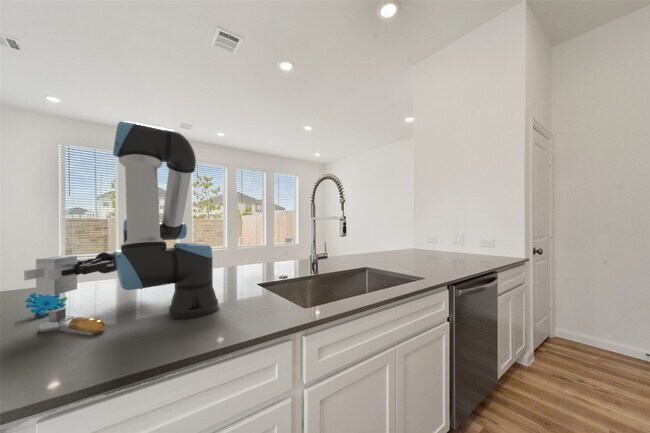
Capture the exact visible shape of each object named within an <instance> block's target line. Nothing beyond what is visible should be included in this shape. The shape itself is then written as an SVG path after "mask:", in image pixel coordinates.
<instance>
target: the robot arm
mask: <svg viewBox="0 0 650 433" xmlns="http://www.w3.org/2000/svg"><path fill="white" fill-rule="evenodd" d="M114 139H115V140H114V144H113V150H112V155H113V156H114V157H116V158H118V163H119V164H121V165H122V166H123V167H124V172H125V173H124V174H125V206H126V207H125V209H126V219H125V220H124V221H123V231H122V232H123V243H122V244H120V249H116V250H112V251H111V250H110V251H104V252H100V253H98V254H97V255H96V256H95V258H87V259H85V260H81V259H80V260H78V259H77V264H75V268H73V266H70V267H64V268H59V269H53V270H47V271H45V280H46V281H48V280H53V279H58V278H63V277H67V276H72V275H73V274H75V275H77V276H78V275H79V276H80V275H84V276H85V275H88V274H93V273H97V272H99V273H100V274H109V273H114V272H116V273H117V278H118V281H119V284H120V287H121V288H122V289H123V290H125V291H133V290H143V289H148V288H153V287H160V286H166V285H172V284H174V292H173V296H172V298H171V301H170V302H171V303H170V305H169V307H168V317H170V318H172V319H178V320H179V319H183V320H184V319H194V318H199V317H203V316H207V315H209V314H212V313H213V312H215V311H217V310H218V309H219V299H218V298H217V295H216V292H215V288H214V285H213V282H214V281H213V276H214V274H213V271H214V270H213V260H214V257H213V249H212V247H211V246H210V245H209V244H205V243H204V244H203V243H192V242H189V243H188V242H175V243H174V245H173V247H167V241H170V240H171V241H172V240H173V241H176V240H183V239H185V238H186V237H187V232H188V231H187V230H188V228H187V227H188V226H187V224H186V223H185V222H183V219H184V214H185V210H186V204H187V198H188V193H189V189H190V182H191V177H192V174H193V173H194V172H195V171H196V170H195V169H196V165H197V162H196V161H197V160H196V153H195V151H194V149H193V147H192V145H191V143H190V141H189V140H188V139H187V138H186V136H184V135H183V134H181V133H180V132H178V131H176V130H174V129H170V128H164V127H158V126H153V125H147V124H143V123H138V122H136V121H134V122H133V121H126V120H122V121H119V122H118V123H117V126H116V132H115V136H114ZM163 163H166V165H165V166H166V167H167V169H168V176H167V181H166V191H165V196H164V197H165V198H164V205H163V212H162V217H161V218H162V219H160V205H159V204H160V203H159V202H160V200H159V184H158V183H159V181H158V169H159V168H160V167H162V165H163ZM160 220H161V221H162V222H161V221H160ZM23 275H24V276H23V279H24V281H30V280H34V279H35V280H36V268H32V269H25V270H23Z"/></svg>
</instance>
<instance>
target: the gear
mask: <svg viewBox="0 0 650 433" xmlns="http://www.w3.org/2000/svg"><path fill="white" fill-rule="evenodd" d="M60 297H61V295H60V294H57V295H38V296H37V295H36V292H33V293H30V295H29V297H27V298H26V300H25V301H24V302H26V303H27V304H25V308H26V309H29V308H31V309H30V313H32V314H36V315H40V316H43V317H44V315H45V314H46V313H47V311H52V310H55V309H64V307H65V306H66V304H65V302H66V301H67V300H68V299H69V298H68V297H67V296H64V297H61V298H60ZM48 316H49V312H48Z"/></svg>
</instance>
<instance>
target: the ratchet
mask: <svg viewBox="0 0 650 433" xmlns="http://www.w3.org/2000/svg"><path fill="white" fill-rule="evenodd" d="M48 313H49V315H48V319H45V320H43V321H41V322H39V332H40V333H50V332H57V331H61V332H68V333H74V334H79V333H80V334H81V335H86V336H87V335H88V336H93V335H95V334H100V333H101V332H103V331H104V330H105V329H106V325H107V323H106V321H105V320H103V319H99V318H92V317H91V318H90V317H83V316H77V317H75V316H74V315H66V308H61V309H53V310H52V311H50V310H48ZM80 334H79V335H80Z"/></svg>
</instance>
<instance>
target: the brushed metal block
mask: <svg viewBox="0 0 650 433" xmlns="http://www.w3.org/2000/svg"><path fill="white" fill-rule="evenodd" d="M77 261H78V256H77V255H56V256H47V257H41V258H40V257H39V258H36V259H35V269H36V278H35V293H36V296H37V295H38V296H39V295H43V296H45V295H49V296H54V295H57V294H59V295H60V294H64V293H68V292H73V291H77V290H78V275H75V274H73V275H72V276H67V277H63V278H58V279H53V280H48V281H46V280H45V271H47V270H53V269H59V268H64V267H70V266H73V268H75V264H77Z"/></svg>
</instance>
